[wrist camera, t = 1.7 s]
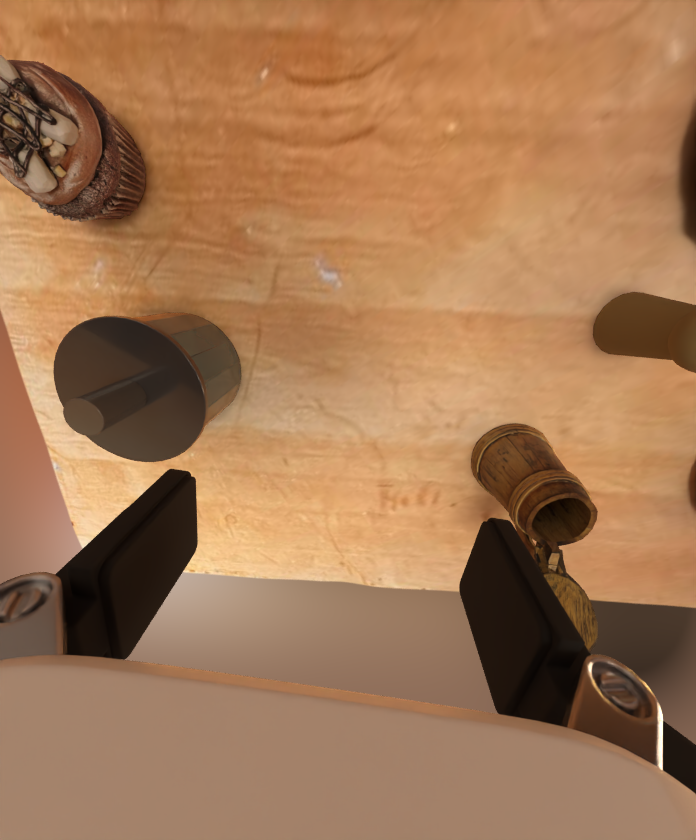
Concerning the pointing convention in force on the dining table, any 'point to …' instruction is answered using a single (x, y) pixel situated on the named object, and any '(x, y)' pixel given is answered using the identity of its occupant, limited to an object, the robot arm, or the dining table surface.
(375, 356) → the dining table surface
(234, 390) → the cup
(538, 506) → the wooden mug
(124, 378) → the lid
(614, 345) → the brown tapered piece
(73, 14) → the dining table surface
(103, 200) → the cupcake
